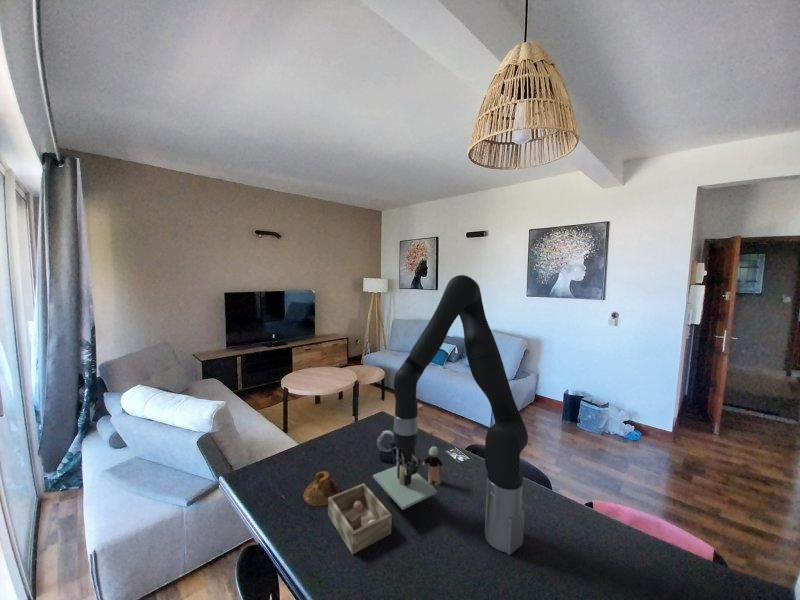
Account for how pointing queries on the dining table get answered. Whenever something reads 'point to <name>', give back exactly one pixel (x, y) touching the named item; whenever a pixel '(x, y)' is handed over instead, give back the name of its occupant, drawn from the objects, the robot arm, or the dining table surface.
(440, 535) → the dining table surface
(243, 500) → the dining table surface
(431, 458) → the grandmother figurine
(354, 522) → the walnut cube
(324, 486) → the brown rounded piece
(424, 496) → the lid
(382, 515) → the box
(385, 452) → the watch
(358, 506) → the terracotta ball
